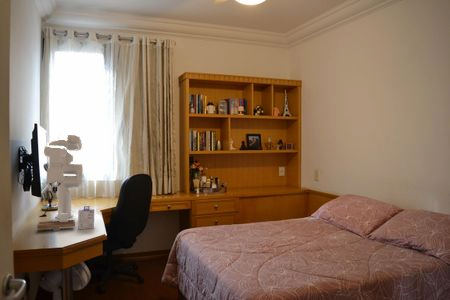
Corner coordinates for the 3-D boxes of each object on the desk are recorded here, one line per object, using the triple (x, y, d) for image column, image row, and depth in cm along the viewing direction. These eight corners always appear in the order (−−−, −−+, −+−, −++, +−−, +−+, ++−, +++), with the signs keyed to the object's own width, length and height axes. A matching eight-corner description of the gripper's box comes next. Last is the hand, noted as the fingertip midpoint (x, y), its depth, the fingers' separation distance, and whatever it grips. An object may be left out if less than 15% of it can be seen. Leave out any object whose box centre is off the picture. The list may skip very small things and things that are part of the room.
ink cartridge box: (94, 226, 233) (94, 205, 233) (93, 228, 228) (94, 207, 228) (78, 227, 230) (79, 206, 230) (77, 229, 225) (78, 207, 225)
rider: (59, 222, 226) (59, 213, 225) (67, 221, 228) (67, 212, 228) (59, 223, 222) (59, 214, 222) (68, 223, 224) (68, 214, 224)
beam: (37, 229, 222) (37, 221, 222) (74, 226, 232) (74, 219, 232) (37, 232, 214) (37, 224, 214) (75, 229, 224) (75, 222, 224)
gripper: (67, 164, 232) (67, 191, 232) (43, 164, 225) (42, 192, 226) (67, 165, 225) (67, 193, 226) (42, 165, 218) (41, 194, 219)
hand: (54, 192), depth 226 cm, fingers closed
